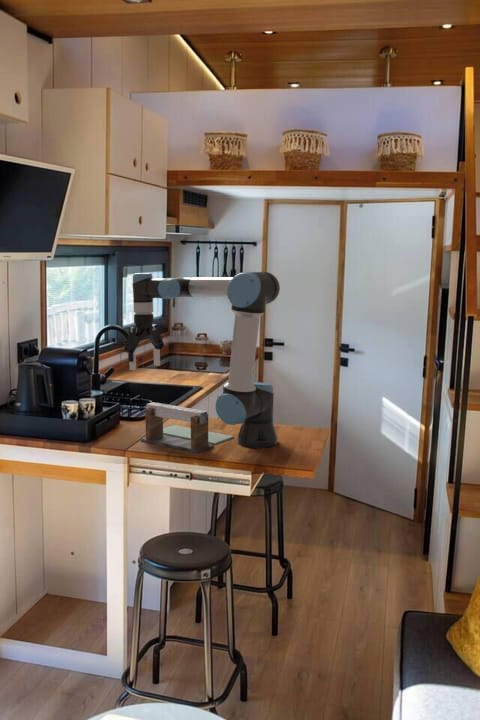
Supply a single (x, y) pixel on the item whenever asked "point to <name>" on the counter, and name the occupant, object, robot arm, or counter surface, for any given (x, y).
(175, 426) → the sage mat
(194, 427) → the hook rack
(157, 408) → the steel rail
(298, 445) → the counter surface
